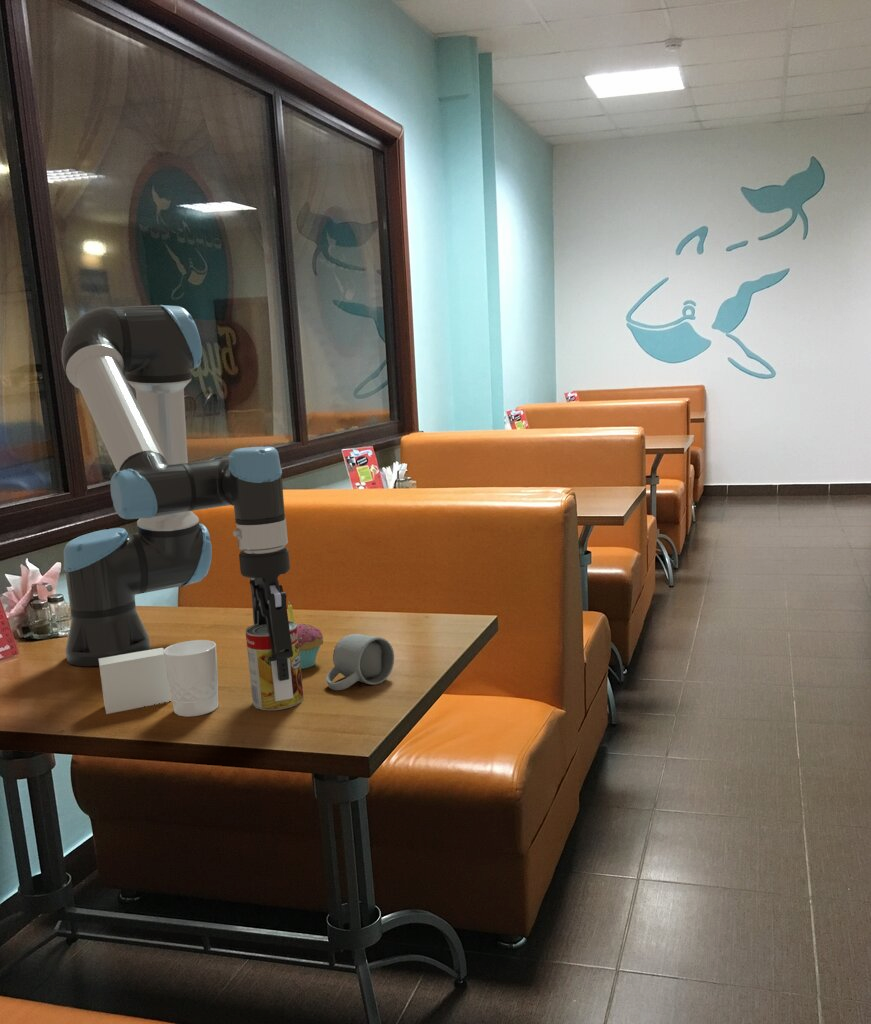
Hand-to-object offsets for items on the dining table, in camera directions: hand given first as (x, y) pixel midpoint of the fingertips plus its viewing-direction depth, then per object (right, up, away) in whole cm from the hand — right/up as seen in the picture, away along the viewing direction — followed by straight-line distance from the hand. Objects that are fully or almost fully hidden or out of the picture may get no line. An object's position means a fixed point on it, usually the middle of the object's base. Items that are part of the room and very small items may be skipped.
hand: (277, 690), depth 148 cm
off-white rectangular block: (-23, -3, +4) cm, 23 cm away
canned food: (0, -2, 0) cm, 2 cm away
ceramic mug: (+12, 0, +7) cm, 14 cm away
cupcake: (+1, +1, +18) cm, 18 cm away
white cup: (-13, -3, -1) cm, 13 cm away
